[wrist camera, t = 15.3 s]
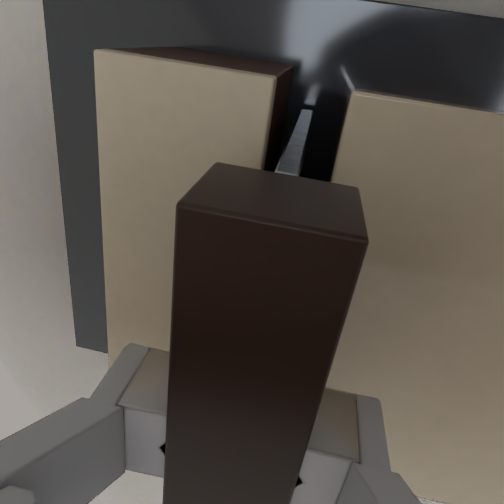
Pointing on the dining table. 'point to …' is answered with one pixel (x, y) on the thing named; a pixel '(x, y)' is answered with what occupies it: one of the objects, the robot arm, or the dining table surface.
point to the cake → (371, 192)
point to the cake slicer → (255, 324)
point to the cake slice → (170, 163)
